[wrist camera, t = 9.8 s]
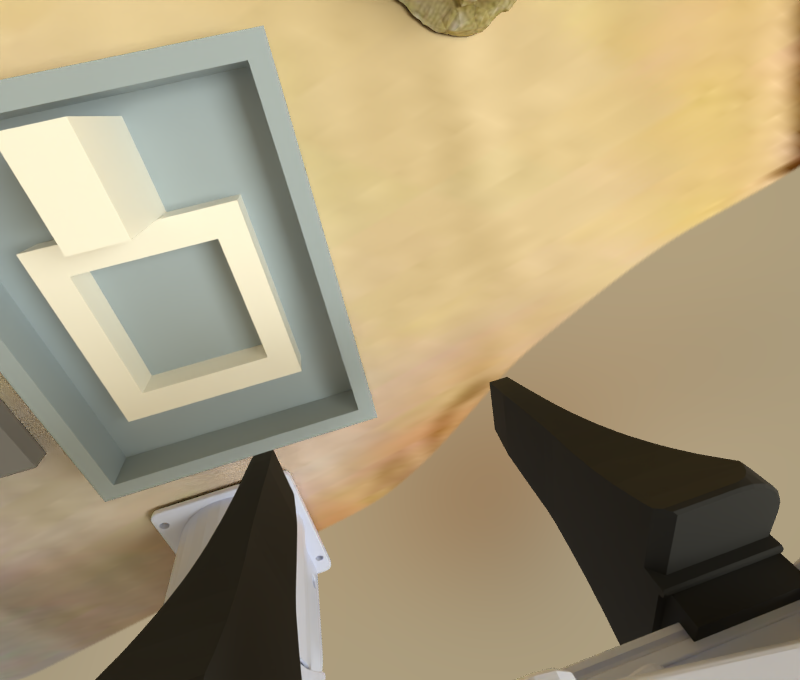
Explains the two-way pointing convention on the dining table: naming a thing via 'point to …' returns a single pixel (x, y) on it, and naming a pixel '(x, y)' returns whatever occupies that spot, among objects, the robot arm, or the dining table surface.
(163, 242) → the square frame with tab
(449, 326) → the dining table surface
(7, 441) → the plate
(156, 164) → the tray
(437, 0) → the ceramic model
